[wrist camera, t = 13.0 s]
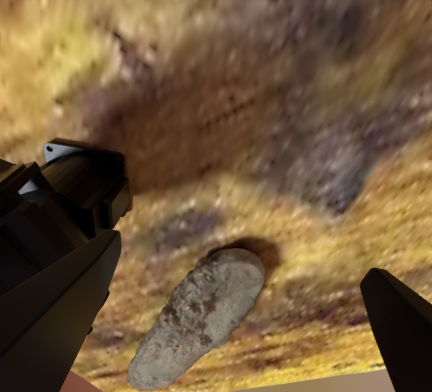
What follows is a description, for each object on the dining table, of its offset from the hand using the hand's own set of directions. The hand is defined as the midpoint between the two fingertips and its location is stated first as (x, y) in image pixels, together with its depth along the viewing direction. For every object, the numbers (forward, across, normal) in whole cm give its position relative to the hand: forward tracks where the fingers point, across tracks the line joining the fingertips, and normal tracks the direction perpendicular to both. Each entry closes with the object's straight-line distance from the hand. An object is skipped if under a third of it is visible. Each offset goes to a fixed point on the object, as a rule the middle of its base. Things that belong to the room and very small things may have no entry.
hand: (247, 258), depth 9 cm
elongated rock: (+14, +2, +28) cm, 31 cm away
